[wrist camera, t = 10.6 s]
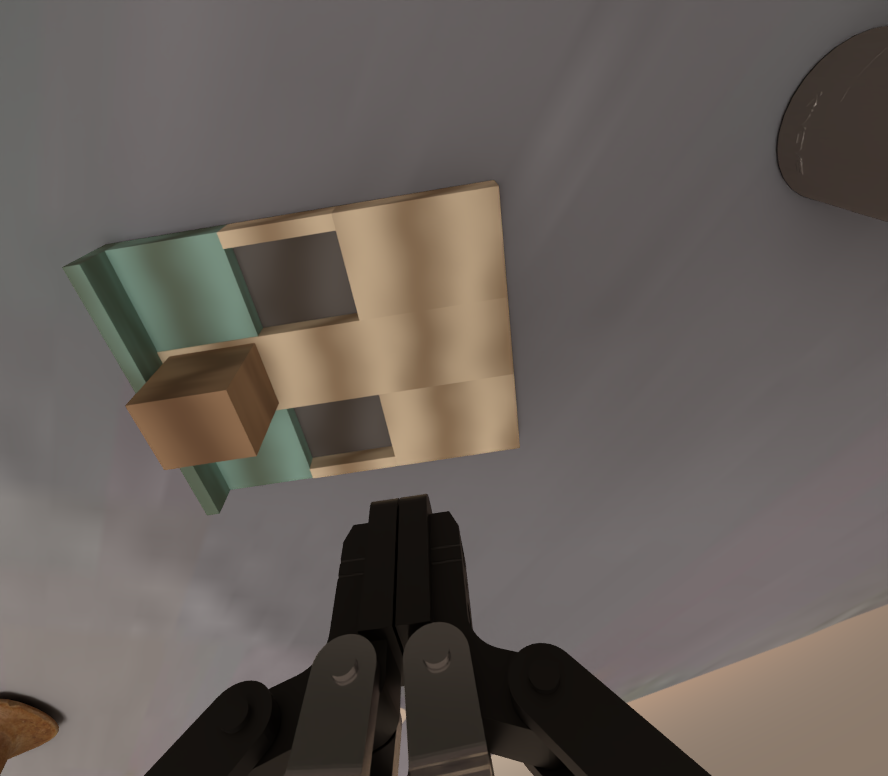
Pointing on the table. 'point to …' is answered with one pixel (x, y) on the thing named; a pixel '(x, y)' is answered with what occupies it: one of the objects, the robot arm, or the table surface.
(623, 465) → the table surface
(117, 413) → the table surface
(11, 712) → the brown top hat
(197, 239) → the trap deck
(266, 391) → the walnut block
